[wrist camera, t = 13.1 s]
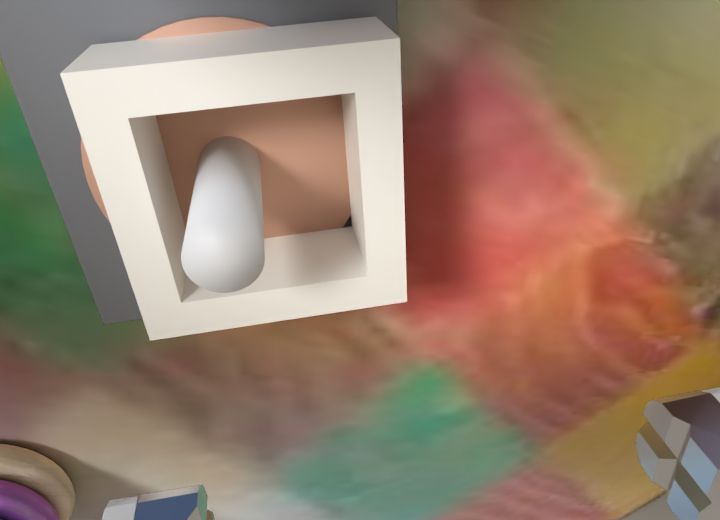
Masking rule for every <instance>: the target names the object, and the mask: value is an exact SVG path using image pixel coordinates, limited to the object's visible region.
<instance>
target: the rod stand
mask: <svg viewBox="0 0 720 520" xmlns="http://www.w3.org/2000/svg"><path fill="white" fill-rule="evenodd" d="M374 16H376V17H377V18H378V19H379V20H381V21H382V22H383V23H384V24H385V25H386V26H387V27H388V28H389V29H391V30H392V31H393V32H394V33H395V34H396V35H397V1H396V0H0V56H1V59H2V62H3V64H4V67H5V69H6V72H7V75H8V77H9V80H10V83H11V85H12V88H13V90H14V93H15V96H16V98H17V101H18V103H19V106H20V109H21V111H22V114H23V116H24V119H25V122H26V124H27V127H28V129H29V132H30V135H31V137H32V140H33V143H34V145H35V148H36V150H37V153H38V156H39V158H40V161H41V163H42V166H43V169H44V171H45V174H46V176H47V179H48V182H49V184H50V187H51V189H52V192H53V195H54V197H55V200H56V203H57V205H58V208H59V210H60V213H61V216H62V218H63V221H64V223H65V226H66V229H67V231H68V234H69V236H70V239H71V242H72V244H73V247H74V249H75V252H76V255H77V257H78V260H79V263H80V265H81V268H82V270H83V273H84V276H85V278H86V281H87V283H88V286H89V289H90V291H91V294H92V296H93V299H94V302H95V304H96V307H97V310H98V312H99V315H100V317H101V320H102V323H103V325H105V324H112V323H119V322H126V321H133V320H139V319H143V318H142V315H141V312H140V309H139V306H138V303H137V300H136V297H135V294H134V292H133V289H132V286H131V283H130V280H129V277H128V274H127V271H126V268H125V265H124V262H123V259H122V256H121V253H120V250H119V247H118V244H117V241H116V238H115V235H114V232H113V229H112V226H111V223H110V220H109V217H108V215H107V212H106V209H105V206H104V203H103V200H102V197H101V194H100V191H99V188H98V185H97V182H96V179H95V176H94V173H93V170H92V167H91V164H90V161H89V158H88V155H87V152H86V149H85V146H84V143H83V141H82V138H81V135H80V132H79V129H78V126H77V123H76V120H75V117H74V114H73V111H72V108H71V105H70V102H69V99H68V96H67V93H66V90H65V87H64V84H63V81H62V78H61V75H60V73H61V72H62V71H63V70H64V69H65V68H66V67H68V66H69V65H70V64H71V63H72V62H73V61H74V60H75V59H76V58H78V57H79V56H80V55H81V54H82V53H83V52H84V51H85V50H86V49H87V48H89V47H90V46H91V45H93V44H103V43H113V42H123V41H133V40H143V39H153V38H163V37H173V36H184V35H194V34H204V33H214V32H224V31H234V30H244V29H254V28H264V27H274V26H284V25H294V24H304V23H314V22H324V21H334V20H344V19H354V18H364V17H374ZM156 118H157V122H158V126H159V130H160V134H161V138H162V141H163V145H164V149H165V153H166V157H167V161H168V165H169V168H170V172H171V176H172V180H173V184H174V188H175V191H176V195H177V199H178V203H179V207H180V211H181V214H182V218H183V222H184V226H185V236H184V241H183V246H182V251H181V263H182V266H183V269H184V271H185V273H186V275H187V276H188V277H189V278H190V279H191V280H192V281H193V282H194V283H195V284H196V285H198V286H200V287H202V288H204V289H206V290H209V291H213V292H219V293H229V292H235V291H239V290H241V289H244V288H246V287H248V286H249V285H251V284H252V283H253V282H254V281H255V280H256V279H257V278H258V277H259V276H260V274H261V272H262V270H263V267H264V263H265V251H264V238H271V237H279V236H286V235H293V234H300V233H308V232H315V231H322V230H330V229H337V228H344V227H352V219H351V207H350V194H349V182H348V170H347V158H346V146H345V134H344V122H343V110H342V98H341V94H339V95H330V96H321V97H312V98H303V99H294V100H286V101H277V102H268V103H259V104H250V105H241V106H232V107H224V108H215V109H206V110H197V111H188V112H179V113H170V114H162V115H156Z"/></svg>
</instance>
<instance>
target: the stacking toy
mask: <svg viewBox="0 0 720 520" xmlns="http://www.w3.org/2000/svg"><path fill="white" fill-rule="evenodd" d="M74 506H75V492H74V488H73V485H72V483H71V481H70V479H69V477H68V476H67V474H66V473H65V472H64V471H63V469H62V468H61V467H60V466H58V465H57V464H56V463H55V462H53V461H52V460H50V459H49V458H47V457H45V456H43V455H41V454H39V453H37V452H34V451H32V450H29V449H26V448H22V447H18V446H13V445H7V444H0V520H70V518H71V516H72V513H73V510H74Z"/></svg>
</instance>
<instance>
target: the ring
mask: <svg viewBox="0 0 720 520" xmlns="http://www.w3.org/2000/svg"><path fill="white" fill-rule="evenodd" d="M60 75H61V78H62V81H63V84H64V87H65V90H66V93H67V96H68V99H69V102H70V105H71V108H72V111H73V114H74V117H75V120H76V123H77V126H78V129H79V132H80V135H81V138H82V141H83V143H84V146H85V149H86V152H87V155H88V158H89V161H90V164H91V167H92V170H93V173H94V176H95V179H96V182H97V185H98V188H99V191H100V194H101V197H102V200H103V203H104V206H105V209H106V212H107V215H108V217H109V220H110V223H111V226H112V229H113V232H114V235H115V238H116V241H117V244H118V247H119V250H120V253H121V256H122V259H123V262H124V265H125V268H126V271H127V274H128V277H129V280H130V283H131V286H132V289H133V292H134V294H135V297H136V300H137V303H138V306H139V309H140V312H141V315H142V318H143V321H144V324H145V327H146V330H147V333H148V336H149V339H150V341H152V340H158V339H165V338H171V337H178V336H185V335H191V334H198V333H204V332H211V331H217V330H224V329H231V328H237V327H244V326H250V325H257V324H264V323H270V322H277V321H283V320H290V319H297V318H303V317H310V316H316V315H323V314H330V313H336V312H343V311H349V310H356V309H362V308H369V307H376V306H382V305H389V304H395V303H402V302H407V277H406V240H405V202H404V165H403V127H402V90H401V53H400V38H399V37H398V36H397V35H396V34H395V33H394V32H393V31H392V30H391V29H389V28H388V27H387V26H386V25H385V24H384V23H383V22H382V21H381V20H379V19H378V18H377V17H376V16H374V17H364V18H354V19H344V20H334V21H324V22H314V23H304V24H294V25H284V26H274V27H264V28H254V29H244V30H234V31H224V32H214V33H204V34H194V35H184V36H173V37H163V38H153V39H143V40H133V41H123V42H113V43H103V44H93V45H91V46H90V47H89V48H87V49H86V50H85V51H84V52H83V53H82V54H81V55H80V56H79V57H78V58H76V59H75V60H74V61H73V62H72V63H71V64H70V65H69V66H68V67H66V68H65V69H64V70H63V71H62V72H61V73H60ZM339 94H341V98H342V110H343V122H344V134H345V146H346V158H347V170H348V182H349V194H350V207H351V219H352V227H344V228H337V229H330V230H322V231H315V232H308V233H300V234H293V235H286V236H279V237H271V238H264V251H265V263H264V267H263V270H262V272H261V274H260V276H259V277H258V278H257V279H256V280H255V281H254V282H253V283H252V284H251V285H249V286H248V287H246V288H244V289H241V290H239V291H235V292H229V293H219V292H213V291H209V290H206V289H204V288H202V287H200V286H198V285H196V284H195V283H194V282H193V281H192V280H191V279H190V278H189V277H188V276H187V275H186V273H185V271H184V269H183V266H182V263H181V251H182V246H183V241H184V236H185V226H184V222H183V218H182V214H181V211H180V207H179V203H178V199H177V195H176V191H175V188H174V184H173V180H172V176H171V172H170V168H169V165H168V161H167V157H166V153H165V149H164V145H163V141H162V138H161V134H160V130H159V126H158V122H157V118H156V115H162V114H170V113H179V112H188V111H197V110H206V109H215V108H224V107H232V106H241V105H250V104H259V103H268V102H277V101H286V100H294V99H303V98H312V97H321V96H330V95H339Z"/></svg>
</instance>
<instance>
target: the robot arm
mask: <svg viewBox="0 0 720 520" xmlns="http://www.w3.org/2000/svg"><path fill="white" fill-rule="evenodd" d="M643 415H644V416H645V417H646V419H647V420H648V422H647V423H646V424H645V425H644V426H643V427H642V428H641V429H640V430H639V431H638V435H637V439H636V443H635V444H636V449H637V455H638V459H639V461H640V463H641V466H642V468H643V470H644V471H645V473H646V474H647V476H648V477H649V479H650V480H651V481H652V482H653V483H655V484H657V485H659V486H660V487H662V488H664V489H665V490H667V498H666V503H667V504H668V506H669V507H670V508H671V510H672V511H673V513H674V514H675V515H676V517H677V518H678V519H679V520H720V387H717V388H712V389H707V390H702V391H693V392H688V393H683V394H678V395H673V396H668V397H663V398H658V399H653V400H651V401H650V402H649V403H648V404H646V407H645V410H644V413H643ZM102 520H215V518H214V515H213V512H211V511H209V510H207V494H206V491H205V489H204V486H203V485H197V486H191V487H185V488H178V489H172V490H166V491H160V492H153V493H147V494H141V495H135V496H129V497H124V498H118V499H112V500H109V502H108V504H107V506H106V508H105V510H104V513H103V517H102Z"/></svg>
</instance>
